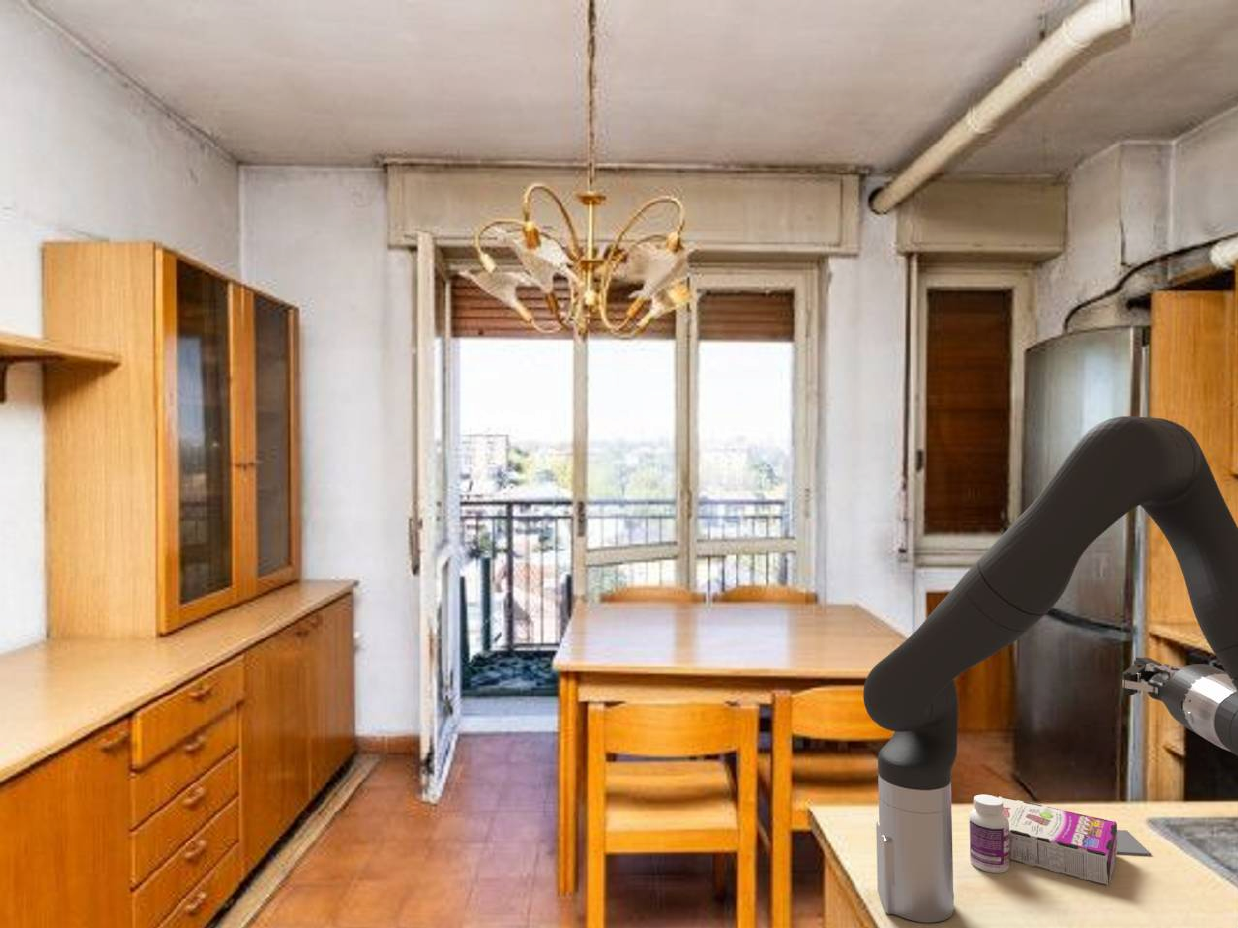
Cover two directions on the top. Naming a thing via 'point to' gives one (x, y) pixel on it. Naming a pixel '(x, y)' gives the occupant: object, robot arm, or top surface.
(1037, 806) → the candy bar box
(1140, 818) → the top surface
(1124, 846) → the mat
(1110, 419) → the robot arm
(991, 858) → the pill bottle
